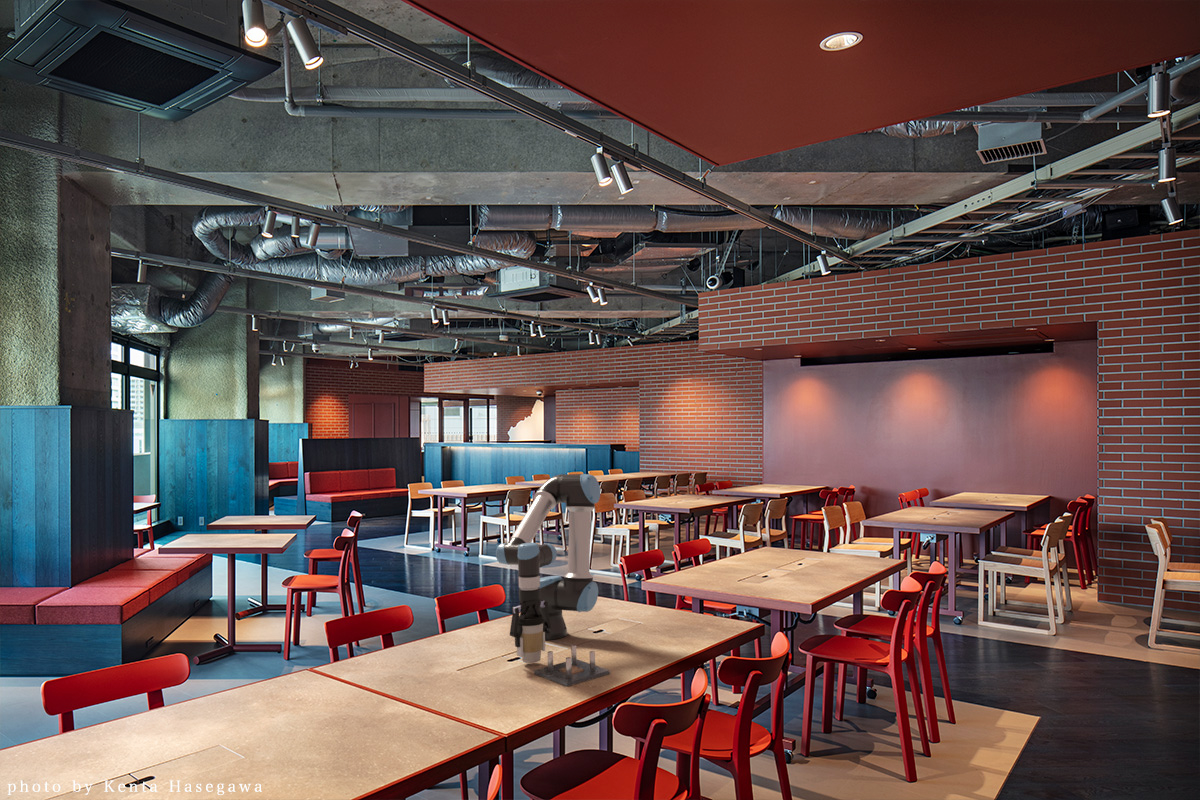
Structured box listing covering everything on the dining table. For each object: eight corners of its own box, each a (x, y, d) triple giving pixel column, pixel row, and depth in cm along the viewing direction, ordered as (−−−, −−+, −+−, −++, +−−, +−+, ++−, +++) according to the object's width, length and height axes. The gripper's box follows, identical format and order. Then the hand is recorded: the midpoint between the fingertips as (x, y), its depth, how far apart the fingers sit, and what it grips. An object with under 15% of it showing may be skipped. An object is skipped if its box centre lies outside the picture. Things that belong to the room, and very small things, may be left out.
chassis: (576, 662, 255) (575, 641, 256) (609, 673, 241) (609, 651, 242) (534, 673, 244) (533, 652, 244) (566, 686, 230) (566, 663, 230)
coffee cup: (547, 655, 259) (546, 613, 259) (542, 664, 249) (541, 620, 250) (520, 655, 260) (519, 613, 260) (514, 664, 250) (513, 620, 250)
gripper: (547, 581, 265) (549, 644, 264) (497, 591, 251) (499, 657, 250) (560, 584, 259) (562, 648, 258) (509, 594, 246) (511, 662, 244)
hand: (531, 653), depth 254 cm, fingers closed on coffee cup, 9 cm apart
